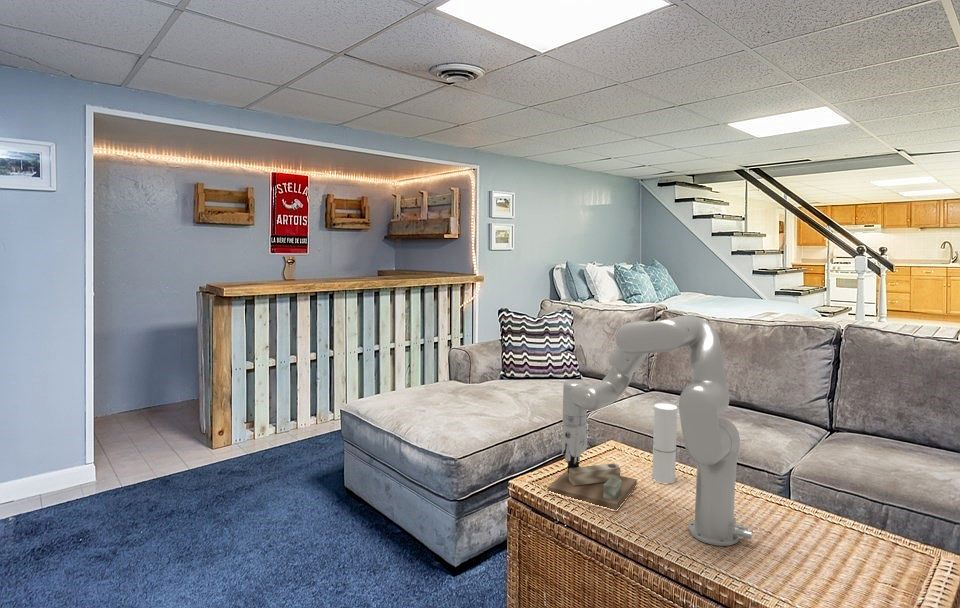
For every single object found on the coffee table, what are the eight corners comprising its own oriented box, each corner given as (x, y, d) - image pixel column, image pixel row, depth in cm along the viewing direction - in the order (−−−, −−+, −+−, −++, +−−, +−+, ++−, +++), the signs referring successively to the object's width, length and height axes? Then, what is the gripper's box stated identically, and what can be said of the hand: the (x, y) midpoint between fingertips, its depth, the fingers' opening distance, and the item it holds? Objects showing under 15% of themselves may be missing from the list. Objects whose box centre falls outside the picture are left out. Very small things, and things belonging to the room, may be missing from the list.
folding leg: (614, 475, 177) (614, 462, 177) (620, 480, 173) (620, 467, 173) (568, 480, 173) (568, 467, 173) (573, 485, 170) (574, 472, 169)
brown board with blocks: (636, 486, 175) (637, 467, 174) (616, 512, 158) (616, 491, 157) (572, 472, 187) (573, 453, 186) (547, 494, 170) (547, 474, 169)
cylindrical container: (671, 475, 183) (674, 403, 181) (677, 484, 176) (679, 409, 174) (650, 475, 184) (652, 403, 181) (654, 484, 177) (656, 409, 174)
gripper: (575, 427, 166) (574, 485, 168) (594, 415, 178) (592, 468, 180) (553, 423, 170) (552, 479, 172) (573, 411, 182) (572, 463, 184)
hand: (573, 473), depth 176 cm, fingers closed
